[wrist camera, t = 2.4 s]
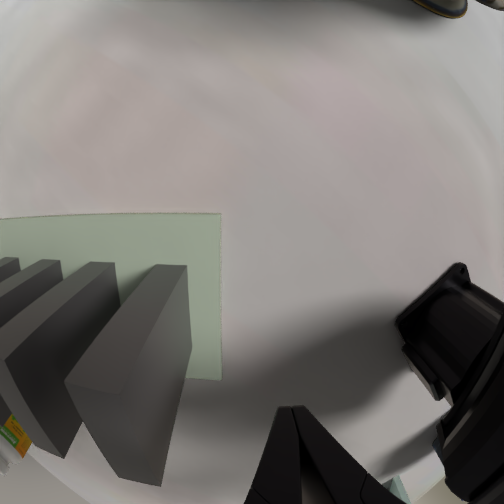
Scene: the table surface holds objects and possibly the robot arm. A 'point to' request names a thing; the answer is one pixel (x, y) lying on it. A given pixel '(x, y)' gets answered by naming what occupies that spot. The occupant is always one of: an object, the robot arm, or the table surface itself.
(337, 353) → the table surface
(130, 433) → the domino
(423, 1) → the apothecary jar
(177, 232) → the rack
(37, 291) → the domino
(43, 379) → the domino
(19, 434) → the supplement bottle
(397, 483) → the right angle wall
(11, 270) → the domino
